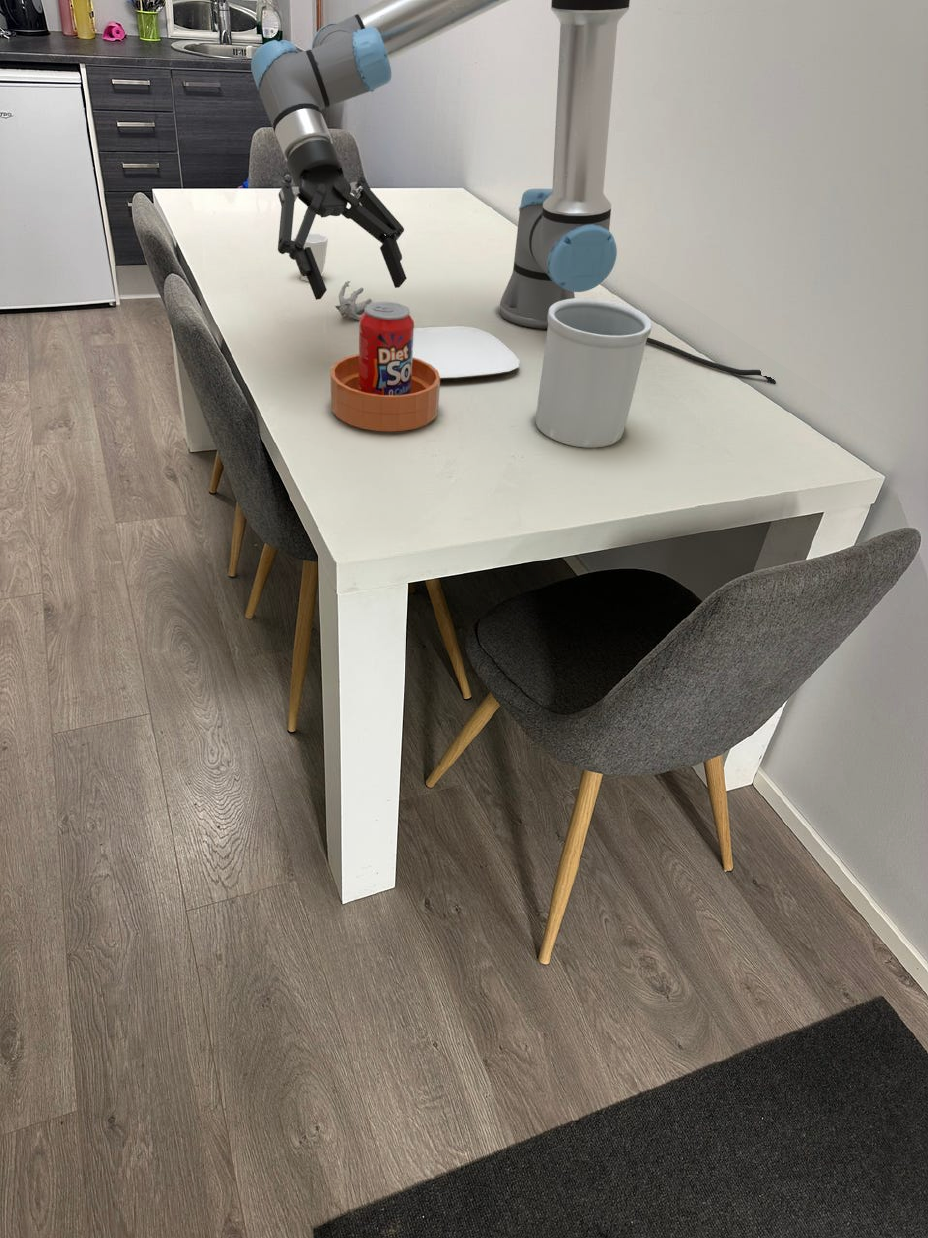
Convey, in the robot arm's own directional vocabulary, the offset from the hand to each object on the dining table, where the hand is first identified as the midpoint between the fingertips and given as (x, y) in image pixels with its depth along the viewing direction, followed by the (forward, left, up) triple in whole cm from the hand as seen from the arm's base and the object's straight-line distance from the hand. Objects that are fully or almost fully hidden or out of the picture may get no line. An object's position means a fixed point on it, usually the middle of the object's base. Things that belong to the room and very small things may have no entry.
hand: (362, 289), depth 128 cm
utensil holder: (-35, +1, -16) cm, 39 cm away
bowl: (-5, +5, -16) cm, 18 cm away
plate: (-11, -19, -16) cm, 27 cm away
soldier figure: (+10, -34, -16) cm, 39 cm away
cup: (+24, -52, -16) cm, 59 cm away
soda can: (-5, +5, -16) cm, 17 cm away
